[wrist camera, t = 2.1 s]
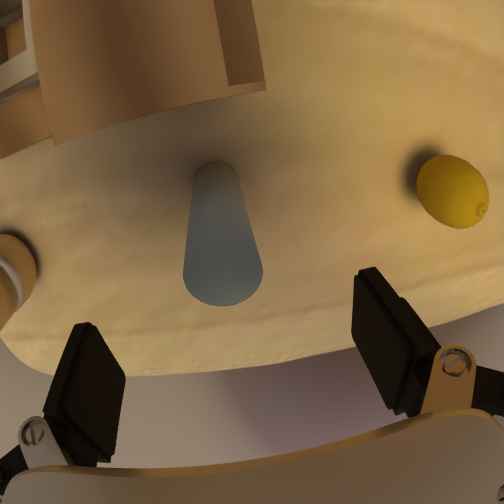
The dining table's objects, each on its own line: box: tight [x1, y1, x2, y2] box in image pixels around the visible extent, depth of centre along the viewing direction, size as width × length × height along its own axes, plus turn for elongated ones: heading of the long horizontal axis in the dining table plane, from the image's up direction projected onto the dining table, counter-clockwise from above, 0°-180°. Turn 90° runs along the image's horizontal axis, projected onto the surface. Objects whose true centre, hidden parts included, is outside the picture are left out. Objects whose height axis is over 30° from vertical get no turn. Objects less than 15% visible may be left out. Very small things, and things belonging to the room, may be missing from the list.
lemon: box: [416, 155, 489, 229], centre depth 21 cm, size 6×6×8 cm
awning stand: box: [0, 0, 266, 159], centre depth 11 cm, size 20×17×10 cm
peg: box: [183, 162, 263, 306], centre depth 18 cm, size 3×3×12 cm
